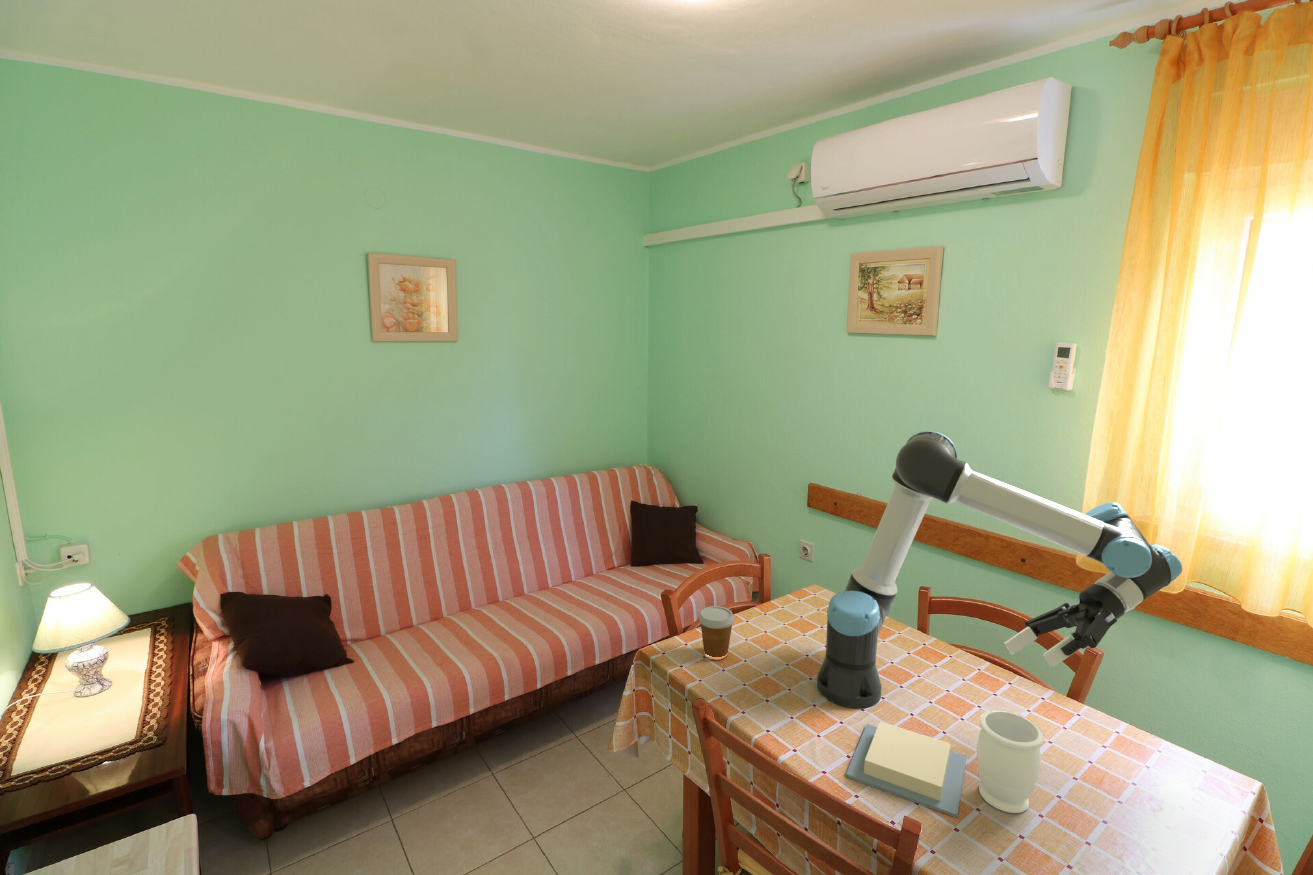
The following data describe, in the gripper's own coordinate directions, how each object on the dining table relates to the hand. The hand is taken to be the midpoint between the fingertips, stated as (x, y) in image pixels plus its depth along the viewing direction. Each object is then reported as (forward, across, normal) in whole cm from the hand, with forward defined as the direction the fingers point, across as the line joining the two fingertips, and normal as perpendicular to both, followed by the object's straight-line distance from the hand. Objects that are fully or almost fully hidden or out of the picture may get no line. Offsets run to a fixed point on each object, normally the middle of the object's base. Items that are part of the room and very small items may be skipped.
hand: (1026, 654), depth 126 cm
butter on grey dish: (+33, +3, -6) cm, 33 cm away
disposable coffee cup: (+55, +43, +25) cm, 74 cm away
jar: (+22, -4, -16) cm, 27 cm away
